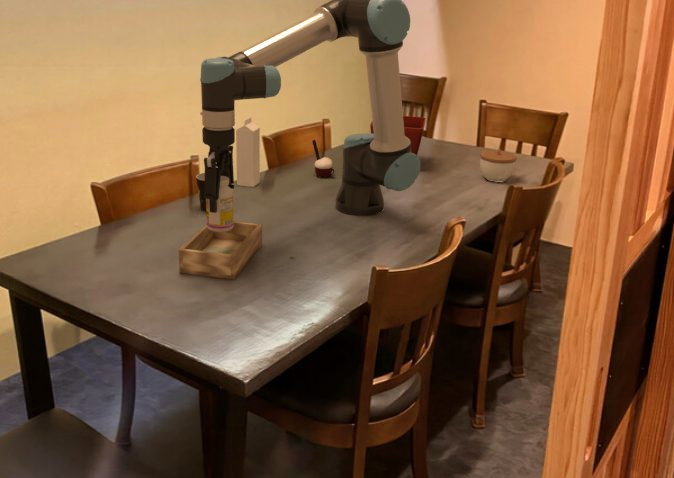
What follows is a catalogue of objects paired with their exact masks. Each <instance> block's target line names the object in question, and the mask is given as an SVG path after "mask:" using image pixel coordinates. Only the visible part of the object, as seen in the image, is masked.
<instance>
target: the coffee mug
mask: <svg viewBox="0 0 674 478" xmlns="http://www.w3.org/2000/svg"><path fill="white" fill-rule="evenodd" d="M195 179H196V186H197V192H198V193H197V194H198V198H199V204H200V209H201V211H203V212H206V199H205V198H204V187H205V172H201V173H198V174H197V175H196V176H195Z"/></svg>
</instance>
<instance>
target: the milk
mask: <svg viewBox="0 0 674 478" xmlns="http://www.w3.org/2000/svg"><path fill="white" fill-rule="evenodd" d="M260 129H261V128H260V127H259V125H257V124H255V123H254V122H252V117H249V118H247V119H245V120H244V124H243V125H242V126H240V127H239V128H236V129H235V136H236V137H235V144H236V186H241V187H247V188H248V187H250V188H254V187H255V186H256V185H258V184H259V183H260V181H261V179H260V178H261V177H260V176H261V175H260V173H261V171H260V166H261V165H260V161H261V160H260V159H261V158H260V157H261V156H260V155H261V154H260V146H261V145H260V143H261V142H260V140H261V139H260V137H261V136H260V134H261V133H260V131H261V130H260Z"/></svg>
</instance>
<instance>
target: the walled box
mask: <svg viewBox="0 0 674 478" xmlns="http://www.w3.org/2000/svg"><path fill="white" fill-rule="evenodd" d="M261 247H263V224H260V223H254V222H253V223H251V222H243V221H242V222H241V221H234V226H233V228H232V229H231V230H229V231H225V232H215V231H211V230H209V229H208V228H207V223H206V224H204V225H203V226H202V227H201V228H200V229H199V230H198V231H197V232H196V233H195V234H194V235H193V236H192V237H190V238H189V239H188V240H187V241H186V242H185V243H184V244H183V245H182V246H181V247H179V249H178V266H179V267H178V268H179V273H181V274H187V275H194V276H204V277H211V278H218V279H219V278H220V279H226V280H234V281H235V280H236V279H237V278H238V276H239V275H240V274H241V273H242V272H243V270H244V269H245V268H246V266H247V265H248V264H249V262H251V260H252V259H253V257H254V256H255V255H256V254H257V253H258V251H259V249H261Z"/></svg>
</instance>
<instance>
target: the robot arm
mask: <svg viewBox="0 0 674 478" xmlns="http://www.w3.org/2000/svg"><path fill="white" fill-rule="evenodd" d="M410 27H411V15H410V11H409V8H408V6H407V5H406V4H405V2H404V1H403V0H330V1H328V2H326V3H324V4H322V5H320V6H318V7H316V8H315V10H314V12H313V14H311V15H309V16H307V17H305V18H303V19H302V20H299V21H298V22H296V23H293V24H292V25H290V26H288V27H285V28H284V29H282V30H280V31H277V32H276V33H273V34H272V35H270V36H268V37H267V38H264V39H263V40H260V41H259V42H256V43H254V44H253V45H250V46H248V47H246V48H244V49H243V50H241V51H238V52H237V53H234V54H232V55H230V56H225V55H224V56H218V57H216V58H213V57H212V58H207V59H204V60H203V61H201V65H200V66H201V67H200V79H199V82H200V89H201V91H200V92H201V93H200V94H201V111H200V112H199V113H200V116H201V117H202V118H201V119H202V120H201V121H202V123H201V124H202V125H201V126H203V127H202V129H201V131H202V133H201V134H202V137H201V138H202V143H203V144H204V145H207V146H208V147H209V148H208V149H209V150H208V153H207V157H204V158H203V165H204V173H205V187H204V198H205V199H208V203H209V224H215V225H220V224H221V212H220V198H219V188H220V178H221V176H226V177H228V178H229V185H228V187H230V188H231V189H232V190H233V189H235V185H234V183H235V178H234V176H235V175H234V159H233V157H234V156H233V155H234V154H233V153H234V152H233V151H234V146H233V145H234V143H236V137H235V136H236V129H235V128H234V126H235V124H236V121H235V120H236V119H235V116H236V114H235V101H241V100H254V99H255V100H256V99H267V98H273V97H276V96H277V95H278V94H279V92H280V91H281V86H282V77H281V74H280V72H279V69H277V67H278V66H281V65H282V64H284V63H286V62H288V61H291V60H292V59H294V58H296V57H298V56H300V55H302V54H303V53H305V52H307V51H309V50H311V49H312V48H315V47H317V46H318V45H320V44H322V43H325V42H326V41H327V42H335V41H336V40H338V39H341V38H346V37H354V38H357V40H358V48H359V52H360V53H362V54H363V55H364V56H365V61H366V70H367V71H366V72H367V81H368V90H369V101H370V110H371V118H372V119H371V122H372V121H373V131H374V134H372V133H371V132H370V133H353V134H350V135H347V136H345V138H344V140H343V147H342V150H343V151H342V170H341V171H342V177H341V184H340V187H339V190H338V192H337V195H336V197H335V209H336V210H338V211H339V212H341V213H343V214H344V213H345V214H347V215H353V216H372V214H373V215H377V214H380V213H382V212H383V211H384V210H383V209H385V207H384V206H385V201H384V195H383V193H382V189H381V186H382V187H385V188H386V189H387V190H392V191H395V192H402V191H405V190H407V189H409V188H410V187H411V186H413V185H414V183H415V182H416V180H417V179H418V177H419V174H420V172H421V164H422V163H421V160H420V158H419V156H418V155H417V156H416V154H414V153H412V152H411V142H410V139H409V138H407V137H406V136H405V135H404V122H403V116H404V112H403V100H402V88H401V87H402V86H401V75H400V63H399V51H400V50H401V48H402V47H403V46H404V40H405V38H406V37H407V36H408V32H409V31H410V29H411V28H410ZM382 210H383V211H382ZM381 211H382V212H381ZM379 212H380V213H379ZM376 213H377V214H376Z"/></svg>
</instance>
